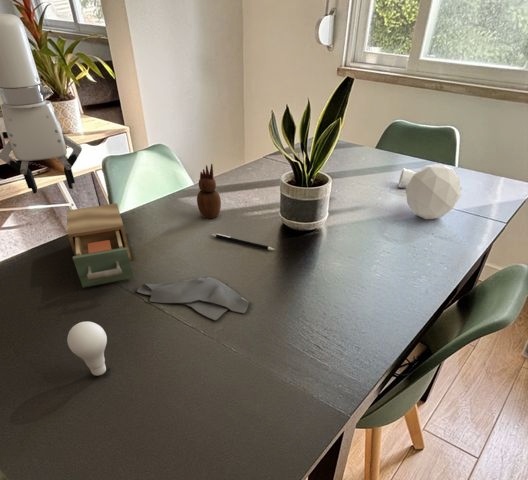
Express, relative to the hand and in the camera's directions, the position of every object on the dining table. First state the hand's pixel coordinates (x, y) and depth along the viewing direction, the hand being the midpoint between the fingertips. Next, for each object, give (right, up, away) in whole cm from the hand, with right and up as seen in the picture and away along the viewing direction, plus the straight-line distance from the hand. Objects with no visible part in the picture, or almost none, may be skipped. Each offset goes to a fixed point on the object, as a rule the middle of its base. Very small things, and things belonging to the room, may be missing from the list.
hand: (53, 188), depth 93 cm
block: (+8, -15, +8) cm, 19 cm away
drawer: (+9, -17, +7) cm, 21 cm away
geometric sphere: (+94, +4, +31) cm, 99 cm away
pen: (+41, -7, +20) cm, 46 cm away
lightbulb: (+17, -40, -17) cm, 46 cm away
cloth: (+31, -23, +2) cm, 39 cm away
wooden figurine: (+30, +4, +33) cm, 45 cm away
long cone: (+101, +18, +47) cm, 112 cm away
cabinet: (+4, -10, +18) cm, 21 cm away
